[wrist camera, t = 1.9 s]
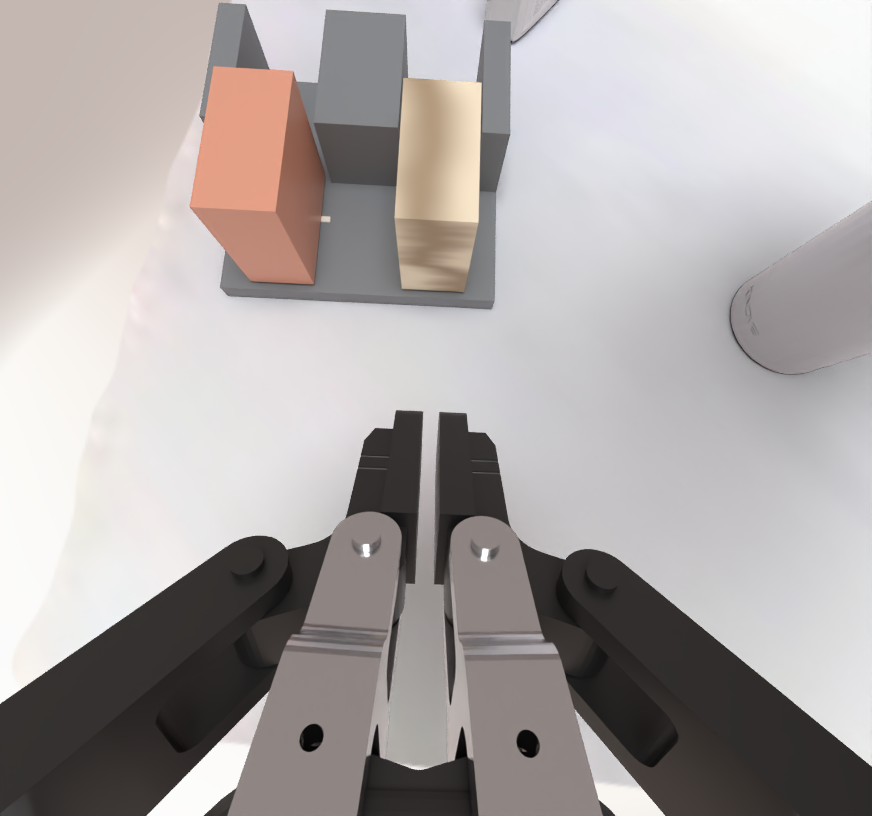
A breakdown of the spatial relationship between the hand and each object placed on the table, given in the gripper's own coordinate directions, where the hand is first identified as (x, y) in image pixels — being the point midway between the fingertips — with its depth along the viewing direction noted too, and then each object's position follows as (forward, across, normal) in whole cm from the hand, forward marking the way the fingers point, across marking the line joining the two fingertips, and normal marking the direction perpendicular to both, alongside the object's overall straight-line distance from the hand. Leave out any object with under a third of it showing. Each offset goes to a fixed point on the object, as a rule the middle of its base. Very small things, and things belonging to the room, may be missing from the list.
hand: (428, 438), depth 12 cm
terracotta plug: (+28, +12, 0) cm, 30 cm away
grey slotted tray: (+32, +6, -1) cm, 33 cm away
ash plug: (+28, 0, 0) cm, 28 cm away
